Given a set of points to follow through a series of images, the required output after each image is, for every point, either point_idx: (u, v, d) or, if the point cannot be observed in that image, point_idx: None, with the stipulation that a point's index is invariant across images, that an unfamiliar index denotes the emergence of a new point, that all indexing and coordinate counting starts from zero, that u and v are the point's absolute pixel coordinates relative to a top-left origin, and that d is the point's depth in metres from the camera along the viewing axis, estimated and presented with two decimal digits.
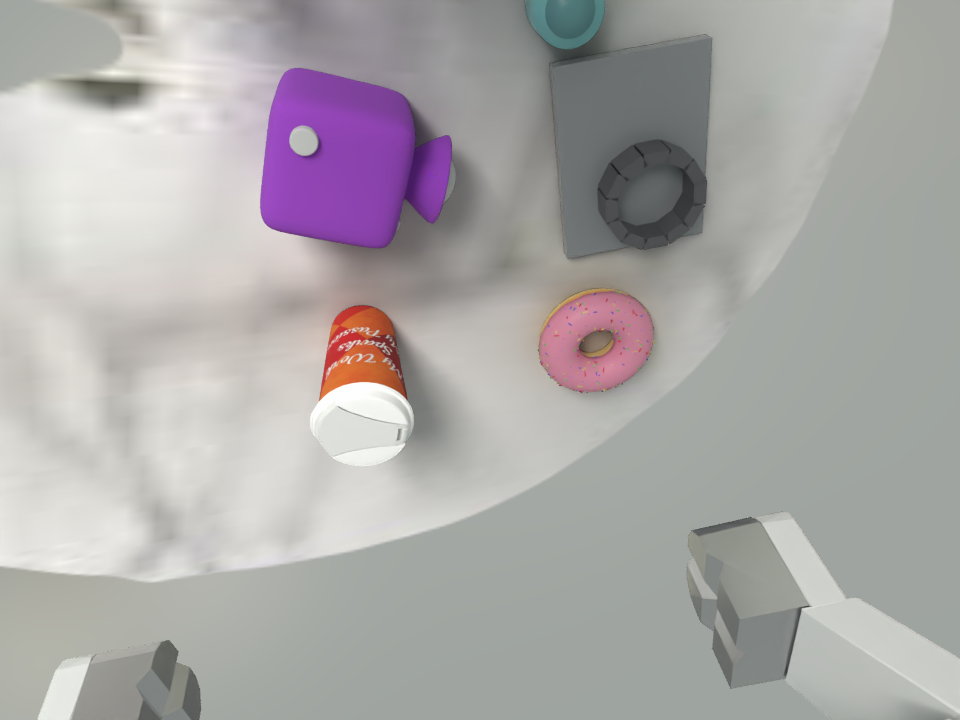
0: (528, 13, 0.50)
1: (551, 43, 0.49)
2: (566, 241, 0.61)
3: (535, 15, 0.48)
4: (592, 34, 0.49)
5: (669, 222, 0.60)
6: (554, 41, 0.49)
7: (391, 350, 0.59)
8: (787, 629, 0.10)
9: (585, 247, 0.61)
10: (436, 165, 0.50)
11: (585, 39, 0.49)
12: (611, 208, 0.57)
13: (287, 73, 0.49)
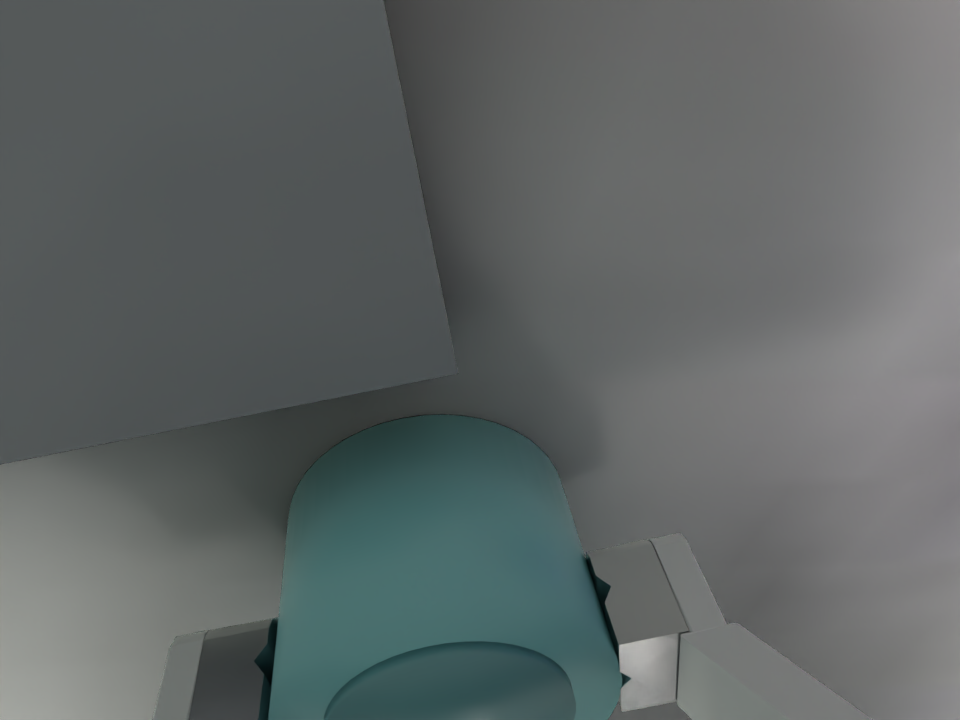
0: None
1: (541, 617, 0.09)
2: None
3: (618, 679, 0.10)
4: (308, 670, 0.09)
5: None
6: (526, 624, 0.09)
7: None
8: (669, 653, 0.10)
9: None
10: None
11: (344, 650, 0.09)
12: None
13: None
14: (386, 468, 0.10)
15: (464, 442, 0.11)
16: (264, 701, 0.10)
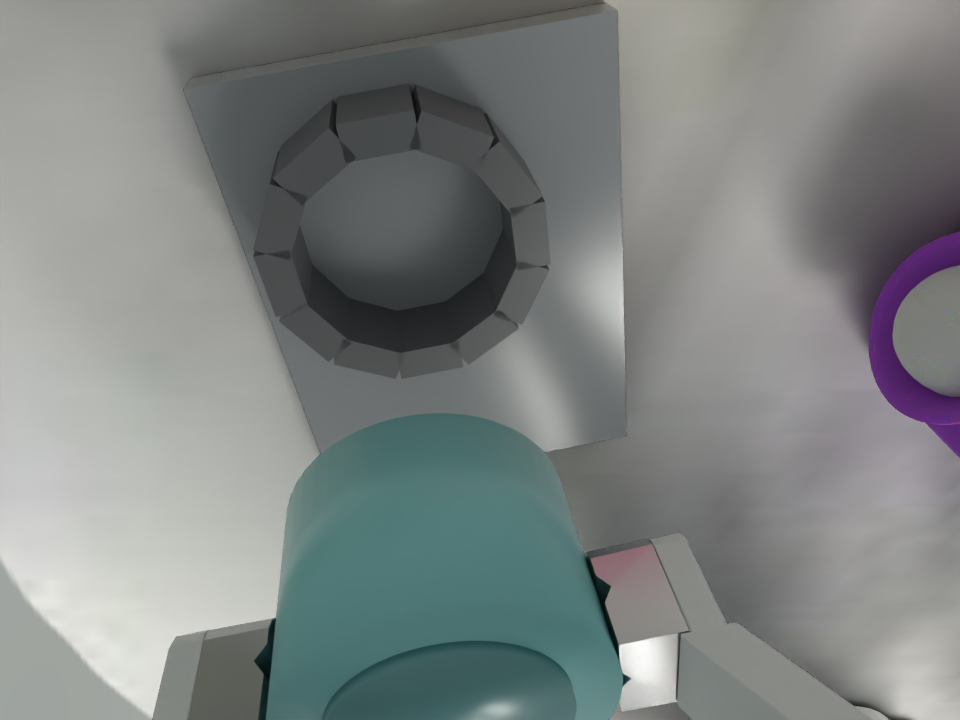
0: (577, 532, 0.12)
1: (541, 616, 0.09)
2: (616, 72, 0.21)
3: (618, 679, 0.10)
4: (306, 670, 0.09)
5: None
6: (526, 623, 0.09)
7: None
8: (670, 654, 0.10)
9: (560, 50, 0.20)
10: None
11: (342, 650, 0.08)
12: (533, 242, 0.21)
13: None
14: (385, 466, 0.10)
15: (463, 440, 0.11)
16: (264, 701, 0.10)
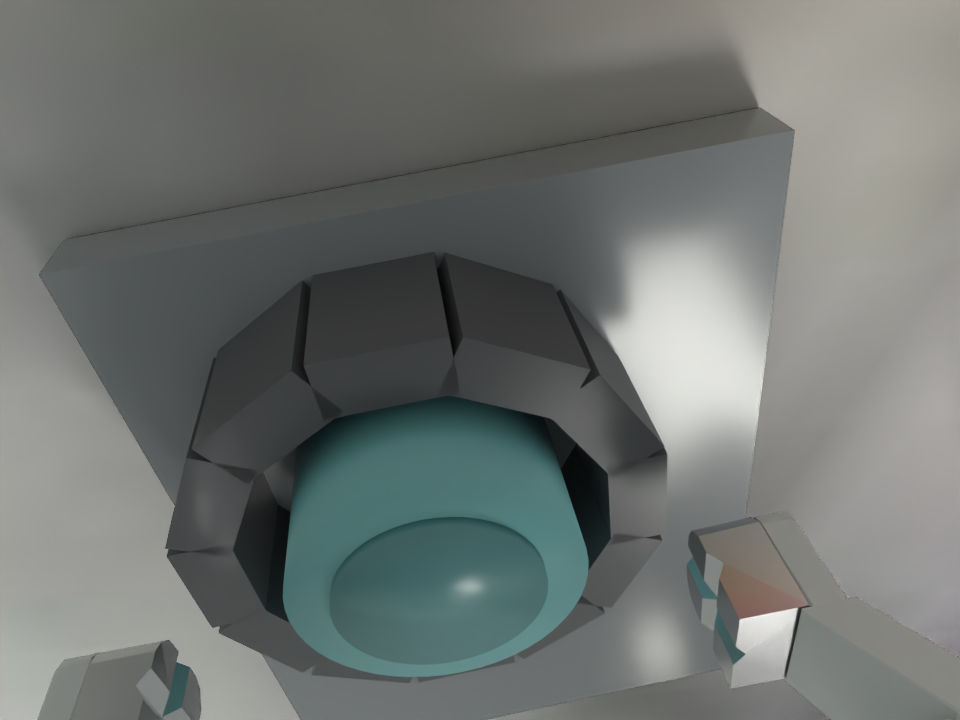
0: (553, 448, 0.13)
1: (515, 495, 0.10)
2: (777, 222, 0.12)
3: (585, 562, 0.11)
4: (317, 540, 0.10)
5: None
6: (502, 500, 0.10)
7: None
8: (787, 629, 0.10)
9: (692, 194, 0.12)
10: None
11: (348, 521, 0.10)
12: (641, 508, 0.12)
13: None
14: None
15: None
16: None
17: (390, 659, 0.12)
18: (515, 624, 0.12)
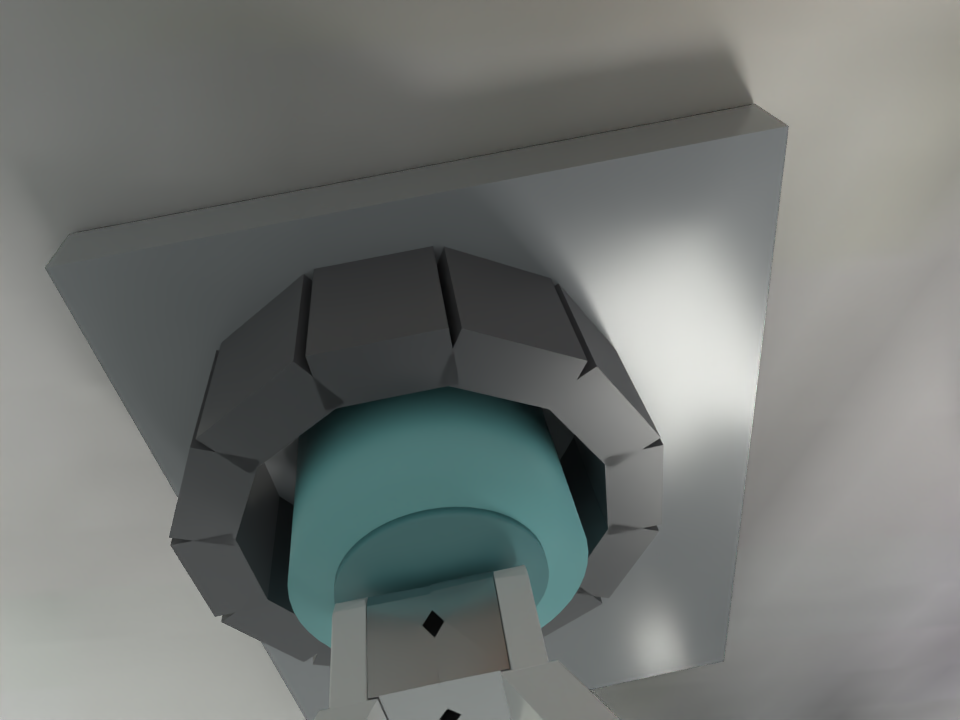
0: None
1: (520, 486, 0.10)
2: (772, 217, 0.13)
3: (584, 553, 0.12)
4: (325, 528, 0.10)
5: None
6: (507, 491, 0.10)
7: None
8: (495, 691, 0.10)
9: (687, 189, 0.12)
10: None
11: (356, 510, 0.10)
12: (638, 498, 0.12)
13: None
14: None
15: None
16: None
17: None
18: None
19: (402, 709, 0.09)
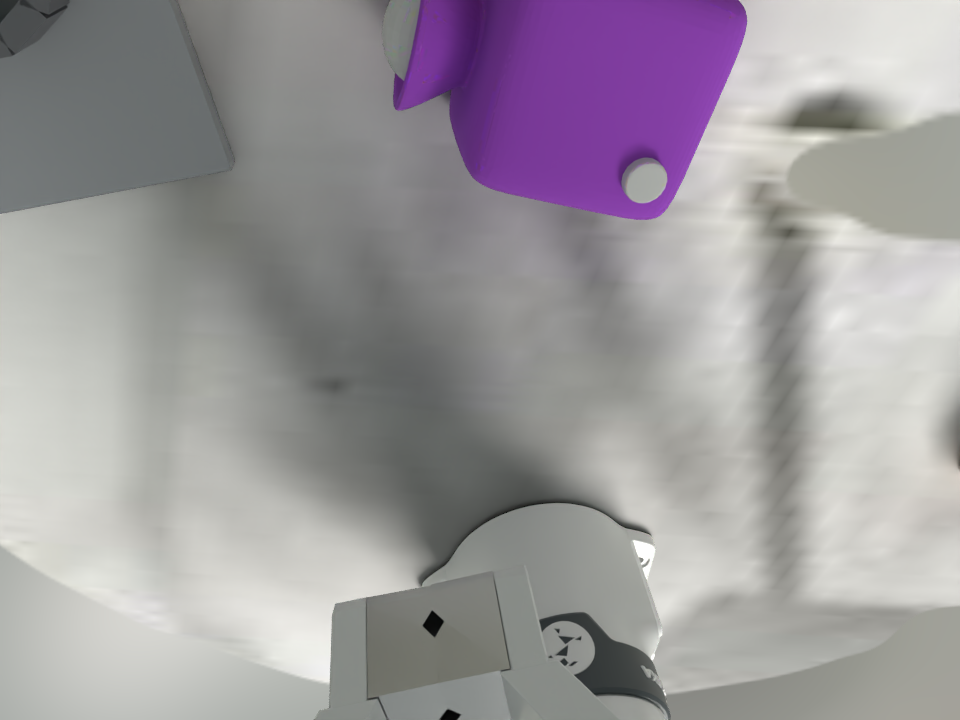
0: None
1: None
2: None
3: None
4: None
5: None
6: None
7: None
8: (495, 690, 0.10)
9: None
10: (425, 91, 0.28)
11: None
12: None
13: None
14: None
15: None
16: None
17: None
18: None
19: (402, 709, 0.09)
